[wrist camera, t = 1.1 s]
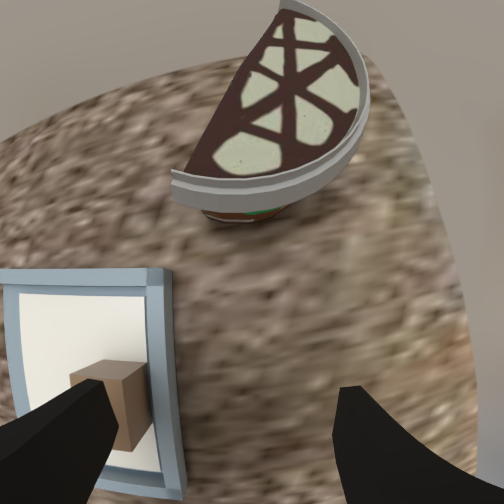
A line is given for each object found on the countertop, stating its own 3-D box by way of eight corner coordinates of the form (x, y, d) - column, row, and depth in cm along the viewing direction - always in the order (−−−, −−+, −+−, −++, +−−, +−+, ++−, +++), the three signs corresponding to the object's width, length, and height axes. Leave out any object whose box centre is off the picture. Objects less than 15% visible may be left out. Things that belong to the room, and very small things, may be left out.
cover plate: (163, 466, 17) (144, 508, 12) (44, 444, 17) (8, 470, 11) (147, 296, 19) (117, 296, 13) (25, 293, 18) (-22, 290, 13)
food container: (288, 275, 20) (337, 255, 10) (198, 239, 20) (163, 184, 10) (343, 122, 22) (396, 33, 12) (268, 92, 22) (284, -10, 12)
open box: (187, 481, 17) (183, 500, 15) (29, 451, 17) (14, 462, 14) (172, 271, 19) (163, 267, 17) (7, 272, 19) (-12, 268, 16)
